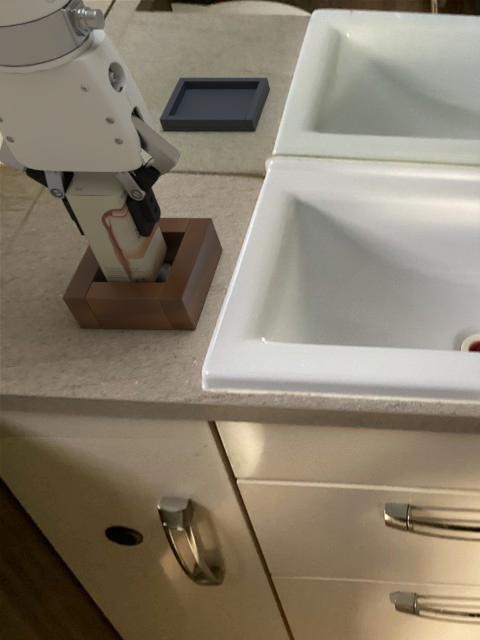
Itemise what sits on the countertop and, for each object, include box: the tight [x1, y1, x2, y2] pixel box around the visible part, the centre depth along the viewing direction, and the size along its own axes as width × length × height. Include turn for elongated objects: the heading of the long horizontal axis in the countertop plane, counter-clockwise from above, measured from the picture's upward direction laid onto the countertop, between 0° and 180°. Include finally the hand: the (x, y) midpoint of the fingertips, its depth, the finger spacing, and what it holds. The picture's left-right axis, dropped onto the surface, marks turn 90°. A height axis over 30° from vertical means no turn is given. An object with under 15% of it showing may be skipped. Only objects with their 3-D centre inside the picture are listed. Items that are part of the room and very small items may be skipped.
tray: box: [159, 77, 271, 132], centre depth 92 cm, size 11×9×2 cm
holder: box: [62, 217, 223, 331], centre depth 73 cm, size 10×10×4 cm
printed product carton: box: [65, 171, 167, 283], centre depth 68 cm, size 5×4×10 cm
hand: (120, 223), depth 68 cm, fingers closed on printed product carton, 4 cm apart
